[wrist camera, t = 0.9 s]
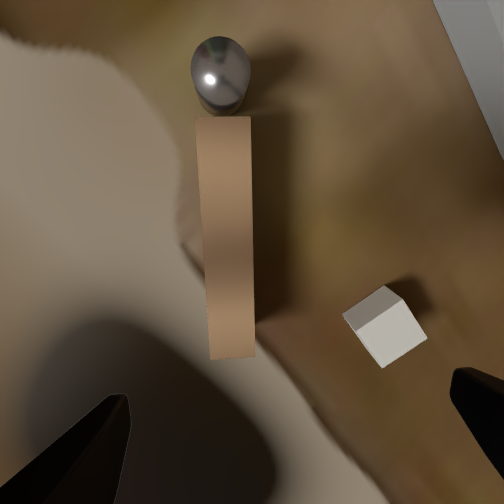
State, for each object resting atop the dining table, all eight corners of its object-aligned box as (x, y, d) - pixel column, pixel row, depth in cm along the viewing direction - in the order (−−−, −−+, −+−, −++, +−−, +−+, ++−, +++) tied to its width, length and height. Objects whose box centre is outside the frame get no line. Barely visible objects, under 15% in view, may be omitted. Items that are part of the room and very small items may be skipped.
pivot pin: (253, 97, 15) (262, 78, 12) (216, 126, 15) (216, 115, 12) (225, 55, 15) (226, 22, 11) (187, 85, 15) (178, 62, 11)
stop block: (406, 320, 19) (427, 338, 17) (366, 348, 20) (382, 368, 18) (384, 285, 19) (402, 298, 17) (341, 314, 19) (355, 331, 17)
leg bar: (199, 125, 15) (194, 116, 12) (244, 125, 15) (250, 116, 13) (211, 329, 18) (210, 360, 15) (249, 326, 18) (255, 356, 16)
